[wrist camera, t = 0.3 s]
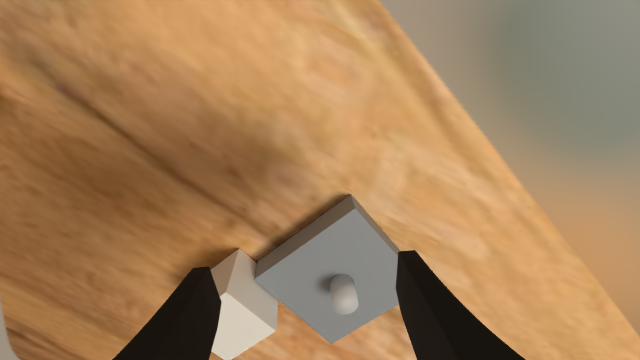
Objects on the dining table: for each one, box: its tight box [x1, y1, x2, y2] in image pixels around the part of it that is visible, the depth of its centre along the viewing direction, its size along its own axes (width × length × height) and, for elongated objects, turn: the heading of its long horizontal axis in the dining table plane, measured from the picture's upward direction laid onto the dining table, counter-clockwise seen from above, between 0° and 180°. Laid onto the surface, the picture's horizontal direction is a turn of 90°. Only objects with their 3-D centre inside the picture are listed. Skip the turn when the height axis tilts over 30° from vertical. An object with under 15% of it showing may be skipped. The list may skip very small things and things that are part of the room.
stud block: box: [254, 195, 400, 344], centre depth 23 cm, size 9×9×4 cm
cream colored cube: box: [211, 248, 279, 360], centre depth 23 cm, size 5×5×4 cm
